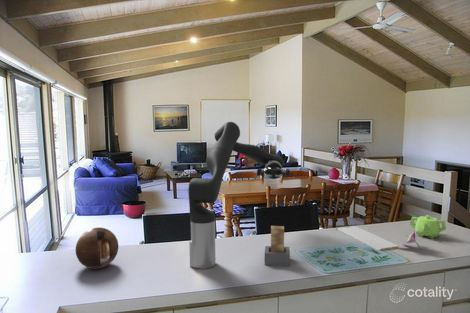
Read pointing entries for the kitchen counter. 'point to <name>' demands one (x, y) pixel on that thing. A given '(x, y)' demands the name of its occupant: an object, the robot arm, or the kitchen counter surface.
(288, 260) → the endcap
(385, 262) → the kitchen counter surface
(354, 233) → the baseboard molding
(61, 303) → the kitchen counter surface
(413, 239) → the lily
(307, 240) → the kitchen counter surface
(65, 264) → the kitchen counter surface
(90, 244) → the wooden sphere
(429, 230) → the teapot
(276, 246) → the tan tall cylinder
